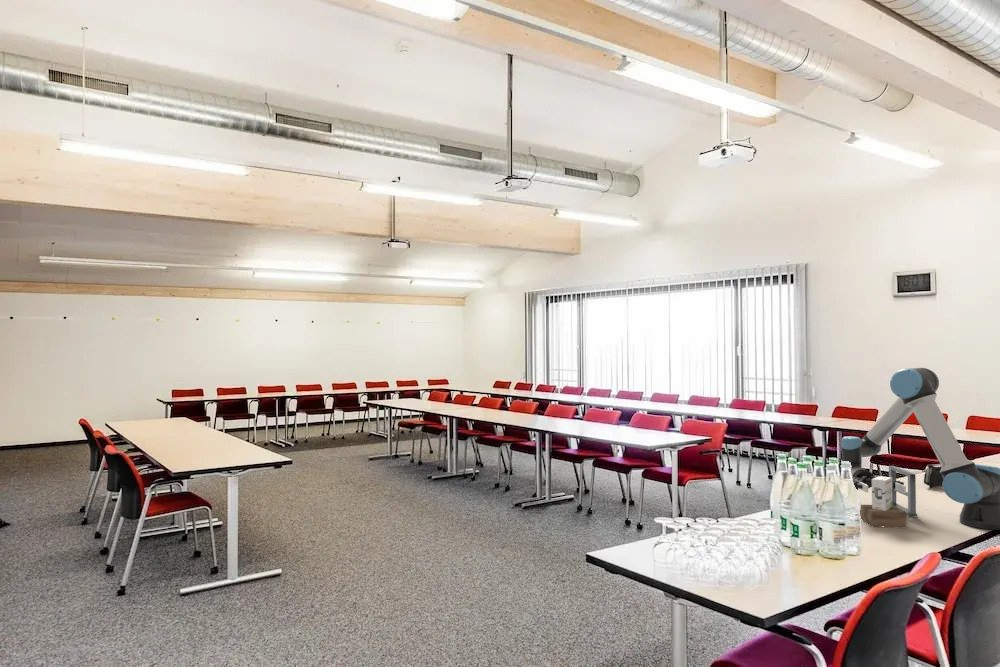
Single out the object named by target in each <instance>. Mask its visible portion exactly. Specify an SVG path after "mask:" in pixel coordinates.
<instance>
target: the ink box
mask: <svg viewBox="0 0 1000 667" xmlns="http://www.w3.org/2000/svg"><path fill="white" fill-rule="evenodd" d="M875 477H876V476H875ZM871 505H872V509H877V510H883V511H887V510H888V509H890V508H892V478H890V477H889V476H881V475H878V476H877V477H876V478H874V479H872V487H871Z"/></svg>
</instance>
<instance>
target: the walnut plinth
mask: <svg viewBox="0 0 1000 667" xmlns="http://www.w3.org/2000/svg"><path fill="white" fill-rule="evenodd" d="M906 516H907V515H906V512H904V511H902V510H901V509H899V508H897V507H895V506H893V505H892V508H890V509H888V510H887V511H883V510H877V509H872V504H860V520H861V519H862V520H863V521H862V520H861V521H862V522H864V523H865V522H866V523H865V524H867V523H868V524H867V525H869V524H870V525H871V526H870V525H869V526H870V527H872V526H884V527H883V528H894V527H906V528H907V526H906V524H907V522H906V521H907V520H906V519H907V518H906Z"/></svg>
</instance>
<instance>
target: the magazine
mask: <svg viewBox="0 0 1000 667" xmlns="http://www.w3.org/2000/svg"><path fill="white" fill-rule="evenodd" d="M941 468H942V465H939V466H934V465H933V464H928V465H927V468H926V470H925V473H924V477H923V483H924V485H926V486H928V488H929V487H931V488H930V489H932V488H934V487H936V486H938V487H943V486H942V483H943V480H944V479H943V477H942V475H941V473H940V470H941ZM936 488H937V487H936Z"/></svg>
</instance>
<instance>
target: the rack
mask: <svg viewBox="0 0 1000 667" xmlns="http://www.w3.org/2000/svg"><path fill="white" fill-rule="evenodd" d="M897 473H899V474H901V475H904V476H906V477H907V491H906V493H902V492H900V491H898V490H896V489H895V488H892V505H893V506H895V507H897V508H899V509H901V510H902V511H904V512H906V516H907V515H908V516H907V517H909V516H917V517H918V513H917V499H916V498H917V490H916V489H917V488H916V477H917V476H916V473H913V472H910V471H907V470H905V469H904V468H900V467H899V466H895V465H888V477H890V478H892V480H894V481H897ZM897 492H898V493H899V494H901V495H904V496H905V497H907V507H905V506H903V505H900V504H899V503H897Z"/></svg>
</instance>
